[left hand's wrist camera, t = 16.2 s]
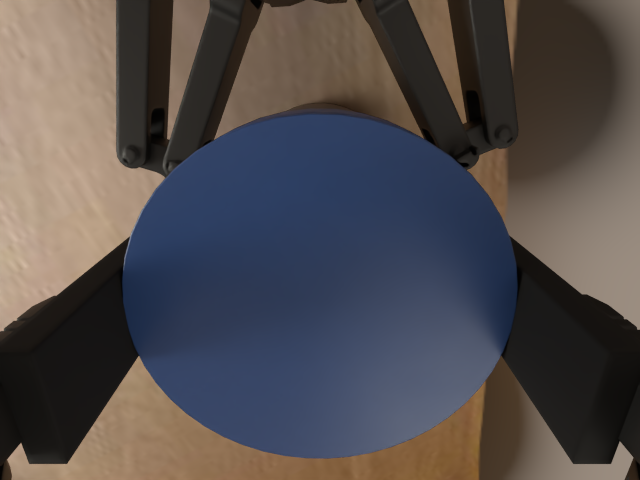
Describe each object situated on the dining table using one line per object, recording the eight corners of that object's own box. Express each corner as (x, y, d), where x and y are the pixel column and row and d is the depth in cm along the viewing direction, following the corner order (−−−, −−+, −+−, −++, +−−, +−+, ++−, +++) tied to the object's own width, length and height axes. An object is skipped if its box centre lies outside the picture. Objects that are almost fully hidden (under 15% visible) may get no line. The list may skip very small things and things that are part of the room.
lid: (329, 456, 15) (330, 505, 13) (86, 294, 12) (47, 328, 10) (559, 274, 12) (599, 306, 10) (305, 14, 9) (302, -1, 8)
